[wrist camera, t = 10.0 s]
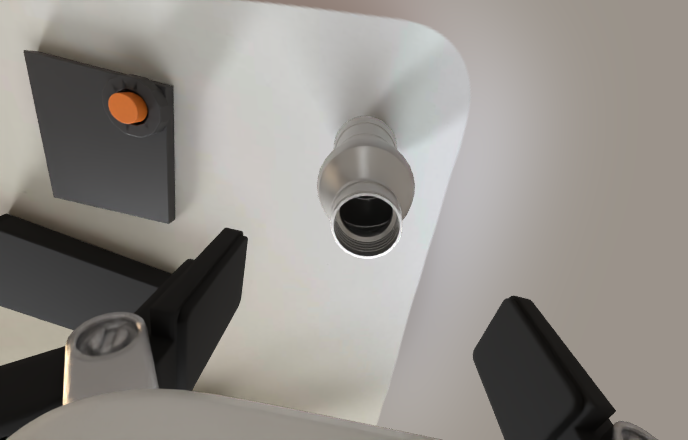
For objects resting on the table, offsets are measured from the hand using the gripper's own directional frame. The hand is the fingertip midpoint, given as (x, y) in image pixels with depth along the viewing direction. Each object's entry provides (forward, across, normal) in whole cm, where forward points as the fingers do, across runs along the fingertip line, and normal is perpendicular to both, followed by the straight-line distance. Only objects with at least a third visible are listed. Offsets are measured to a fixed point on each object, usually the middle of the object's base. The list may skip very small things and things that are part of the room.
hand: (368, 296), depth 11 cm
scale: (+25, +28, +6) cm, 38 cm away
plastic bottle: (+25, 0, -1) cm, 25 cm away
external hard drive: (+25, +33, +28) cm, 50 cm away
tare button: (+22, +24, +1) cm, 32 cm away
